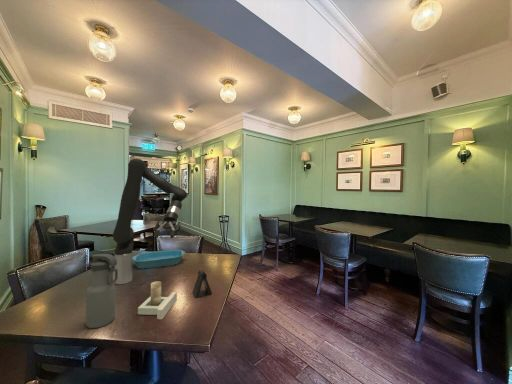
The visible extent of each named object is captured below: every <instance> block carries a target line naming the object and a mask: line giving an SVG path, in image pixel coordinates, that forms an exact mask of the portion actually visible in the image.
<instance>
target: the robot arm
mask: <svg viewBox="0 0 512 384" xmlns="http://www.w3.org/2000/svg"><path fill="white" fill-rule="evenodd" d="M127 165H128V166H127V178H126V181H125V184H124V186H123V191H122V194H121V198H120V204H119V209H118V214H117V215H118V216H117V221H116V224H115V227H114V230H113V233H112V238H113V241H114V242H115V243H116V246H115V249H114V257H115V258H116V260H117V265H115V269H117V270H118V278H117V280H116V281H115V282H114V284H115V285H126V284H128V283H130V282H132V281H133V260H132V257H133V249H134V246H135V245H134V242H135V241H134V239H135V233H134V229H133V228H132V227H131V226H132V222H133V221H132V220H133V217H134V216H135V213H136V212H137V208H138V207H139V201H140V195H141V184H142V183H141V182H142V180H143V179H145V180H146V181H149V182H150V183H151V184H152V185H153V186H155V187H156V188H157V189H159V190H161V191H162V192H164V193H165V194H167V195H170V194H172V196H171V201H170V204H169V207H168V208H167V211H166V213H165V215H164V218H163V221H157V222H156V224H155V226H154V228H153V229H154V232H155V233H154V236H155V238H156V239H158V238H159V236H160V233H161V232H163V231H165V230H172V231H171V233H170V236H169V238H170V239H173V238H174V237H175V234H176V233H179V232H180V230H181V225H182V223H181V222H180V221H178V219H179V216H180V212H181V209H182V207H183V204H182V201H184V200H186V199H187V197H188V192H187V191H186V190H185V189H184V188H182V187H179V186H177V185H174V184H172V183H171V182H169V181H168V180H167V179H165V177H162V176H160V175H159V174H156V172H154V171H153V170H152V169H150V168H149V167H148V166H147V165H146V163H145V162H144V160H142V159H141V158H137V157H135V158H132V159H130V160H129V162H128V164H127ZM175 227H176V228H175ZM114 279H115V271H114V272H112V281H113V280H114Z"/></svg>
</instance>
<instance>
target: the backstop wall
mask: <svg viewBox="0 0 512 384" xmlns="http://www.w3.org/2000/svg"><path fill="white" fill-rule="evenodd" d="M167 297H168V298H167V299H166V301H165V302H164V303H163V304H162V305H161V306H160V307H159V309H158V310H157V315H156V320H163V318H164V317H165V316H166V315H167V314H168V313H169V311H170V309H171V308H172V307H173V305H174V304H175V303H177V300H178V295H177V291H173V292H171V294H169V296H167Z"/></svg>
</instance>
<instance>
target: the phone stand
mask: <svg viewBox="0 0 512 384" xmlns="http://www.w3.org/2000/svg"><path fill="white" fill-rule="evenodd" d="M207 277H208V276H207V273H206V272H205V271H204V270H203V269H201V270H198V272H197V278H196V281H195V283H194V286H193V289H192V295H193V296H194V298H195V299H198V298H203V297H207V296H211V295H213V292H212V289H211V287H210V284H209V282H208V279H207ZM202 284H203V286H204V290H201V289H202Z"/></svg>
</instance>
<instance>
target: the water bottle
mask: <svg viewBox="0 0 512 384" xmlns="http://www.w3.org/2000/svg"><path fill="white" fill-rule="evenodd" d="M91 259H92V263H91V264H90V272H91V283H90V284H91V285H89V286H88V287H87V289H86V293H85V297H86V298H85V299H86V300H85V303H86V305H85V306H86V307H85V317H86V318H85V325H86V327H87V328H89V329H97V328H102V327H105V326H107V325H109V324H110V323H112V322H113V321H114V319H115V317H116V284H115V283H114V282H115V281H116V280H117V278H118V270H117V269H115V265H117V260H116V258H115V255H114V254H110V253H96V254H92V255H91ZM114 271H115V279H114V280H113V279H112V280H111V278H112V274H113V272H114Z"/></svg>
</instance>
